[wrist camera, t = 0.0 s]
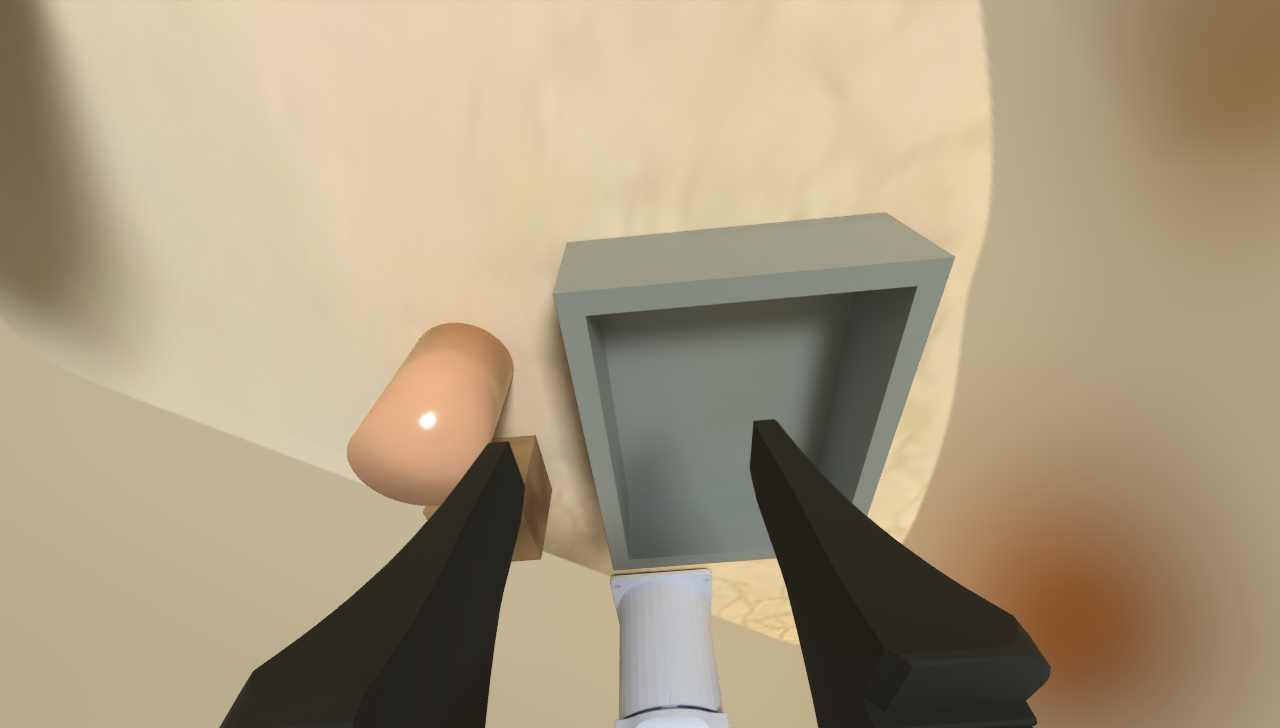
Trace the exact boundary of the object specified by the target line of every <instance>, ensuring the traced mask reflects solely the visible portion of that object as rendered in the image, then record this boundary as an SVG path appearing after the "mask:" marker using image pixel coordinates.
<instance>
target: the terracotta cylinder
mask: <svg viewBox="0 0 1280 728" xmlns="http://www.w3.org/2000/svg"><path fill="white" fill-rule="evenodd" d="M513 372H514V366H513V361H512V358H511V356H510V354H509V352H508V350H507V349H506V347H505V346H504V345H503V344H502V343H501V342H500V341H499V340H498V339H497V338H496V337H495V336H493V335H492V334H490V333H489V332H487V331H485V330H483V329H481V328H478V327H475V326H472V325H468V324H462V323H448V324H442V325H438V326H436V327H433V328H431V329H430V330H428V331H427V332H426V333H424V334H423V335H422V337H421V338H420V339H419V341H418V342H417V344H416V345H415V346H414V348H413V349H412V351H411V352H410V354H409V355H408V357H407V358H406V359H405V361H404V362H403V364H402V365H401V367H400V368H399V370H398V371H397V373H396V374H395V375H394V377H393V378H392V380H391V381H390V383H389V384H388V386H387V387H386V388H385V390H384V391H383V393H382V394H381V396H380V397H379V399H378V400H377V401H376V403H375V404H374V406H373V407H372V409H371V410H370V412H369V413H368V415H367V416H366V417H365V419H364V420H363V422H362V423H361V425H360V426H359V428H358V429H357V430H356V432H355V433H354V435H353V436H352V438H351V439H350V441H349V443H348V447H347V457H348V461H349V464H350V466H351V468H352V470H353V471H354V473H355V474H356V475H357V476H358V477H359V478H360V479H361V480H362V482H364V483H365V484H366V485H367V486H369V487H370V488H372V489H373V490H375V491H376V492H378V493H380V494H382V495H384V496H386V497H389V498H391V499H394V500H397V501H400V502H404V503H408V504H413V505H422V506H437V505H441V504H442V503H443V502H444V501H445V499H446V498H447V497H448V495H449V494H450V493H451V492H452V490H453V489H454V488H455V487H456V485H457V484H458V483H459V481H460V480H461V479H462V477H463V476H464V475H465V473H466V472H467V471H468V469H469V468H470V467H471V465H472V464H473V463H474V461H475V460H476V459H477V457H478V456H479V455H480V453H481V452H482V451H483V449H484V448H485V447H486V445H487V444H488V443H491V441H492V438H493V435H494V432H495V429H496V426H497V423H498V420H499V417H500V414H501V411H502V408H503V405H504V402H505V399H506V396H507V393H508V390H509V387H510V384H511V381H512V378H513Z"/></svg>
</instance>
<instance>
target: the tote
mask: <svg viewBox="0 0 1280 728" xmlns="http://www.w3.org/2000/svg"><path fill="white" fill-rule="evenodd" d="M954 258H955V257H954V256H953V255H951V254H950V253H948V252H947V251H945V250H943V249H942V248H940V247H939V246H937V245H936V244H934V243H933V242H931V241H929V240H928V239H926V238H925V237H923V236H922V235H920V234H919V233H917V232H915V231H914V230H912V229H911V228H909V227H908V226H906V225H905V224H903V223H901V222H900V221H898V220H897V219H895V218H894V217H892V216H891V215H889V214H887V213H877V214H866V215H855V216H845V217H834V218H824V219H813V220H802V221H792V222H781V223H771V224H760V225H749V226H739V227H728V228H717V229H707V230H696V231H686V232H675V233H664V234H654V235H643V236H633V237H622V238H611V239H601V240H590V241H580V242H569V243H567V246H566V249H565V253H564V256H563V260H562V263H561V267H560V271H559V274H558V278H557V281H556V285H555V288H554V292H553V296H554V301H555V305H556V310H557V314H558V319H559V323H560V328H561V333H562V337H563V342H564V346H565V351H566V355H567V360H568V364H569V369H570V374H571V378H572V383H573V387H574V392H575V396H576V401H577V405H578V410H579V415H580V419H581V424H582V428H583V433H584V437H585V442H586V446H587V451H588V456H589V460H590V465H591V469H592V474H593V478H594V483H595V487H596V492H597V497H598V501H599V506H600V510H601V515H602V519H603V524H604V528H605V533H606V538H607V542H608V547H609V551H610V556H611V560H612V565H613V569H614V570H627V569H640V568H653V567H667V566H680V565H693V564H706V563H719V562H733V561H746V560H759V559H772V558H776V555H775V552H774V549H773V546H772V543H771V541H770V538H769V535H768V532H767V529H766V526H765V524H764V521H763V518H762V515H761V512H760V509H759V506H758V503H757V500H756V496H755V491H754V487H753V482H752V478H751V473H750V469H749V468H750V456H751V444H752V432H753V421H757V420H769V419H775V420H776V421H777V422H778V423H779V424H780V425H781V426H782V428H783V429H784V430H785V431H786V433H787V434H788V435H789V436H790V438H791V439H792V440H793V441H794V442H795V444H796V445H797V446H798V447H799V448H800V449H801V451H802V452H803V453H804V454H805V455H806V456H807V457H808V459H809V460H810V461H811V462H812V463H813V464H814V465H815V466H816V467H817V468H818V469H819V471H820V472H821V473H822V474H823V475H824V476H825V477H826V478H827V479H828V480H829V481H830V482H831V483H832V484H833V485H834V486H835V487H836V488H837V489H838V490H839V491H840V492H841V493H842V494H843V495H844V496H845V497H846V498H847V499H848V500H849V501H850V502H852V503H853V504H854V505H855V506H856V507H857V508H858V509H859V510H860V511H862V512H863V513H864V514H865V515H866V516H867V514H868V512H869V509H870V506H871V503H872V500H873V497H874V494H875V491H876V488H877V485H878V482H879V479H880V476H881V473H882V470H883V467H884V464H885V461H886V459H887V456H888V453H889V450H890V447H891V444H892V441H893V438H894V435H895V432H896V429H897V426H898V423H899V420H900V417H901V414H902V411H903V409H904V406H905V403H906V400H907V397H908V394H909V391H910V388H911V385H912V382H913V379H914V376H915V373H916V370H917V367H918V364H919V361H920V359H921V356H922V353H923V350H924V347H925V344H926V341H927V338H928V335H929V332H930V329H931V326H932V323H933V320H934V317H935V314H936V311H937V309H938V306H939V303H940V300H941V297H942V294H943V291H944V288H945V285H946V282H947V279H948V276H949V273H950V270H951V267H952V264H953V261H954Z"/></svg>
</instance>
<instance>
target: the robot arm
mask: <svg viewBox="0 0 1280 728" xmlns="http://www.w3.org/2000/svg"><path fill="white" fill-rule="evenodd" d="M749 469H750V473H751V478H752V482H753V487H754V491H755V496H756V500H757V503H758V506H759V509H760V512H761V515H762V518H763V521H764V524H765V526H766V529H767V532H768V535H769V538H770V541H771V543H772V546H773V549H774V552H775V555H776V558H777V561H778V563H779V566H780V569H781V572H782V575H783V578H784V582H785V585H786V588H787V592H788V596H789V600H790V604H791V608H792V612H793V616H794V620H795V624H796V628H797V633H798V637H799V641H800V645H801V650H802V654H803V658H804V662H805V667H806V671H807V676H808V680H809V685H810V689H811V694H812V699H813V703H814V708H815V713H816V718H817V723H818V727H819V728H1033V727H1032V726H1035V725H1036V724H1037V720H1036V717H1035V716H1034V714H1033V712H1032V711H1031V709H1030V707H1029V706H1028V704H1027V702H1026V700H1027V699H1028V698H1029V697H1030V696H1032V695H1033V694H1034V693H1035V692H1036V691H1037V690H1038V689H1039V688H1040V687H1042V686H1043V684H1044V683H1045V682H1046V681H1047V680H1048V678H1049V676H1050V669H1051V667H1050V665H1049V664H1048V662H1047V661H1046V659H1045V658H1044V656H1043V655H1042V653H1041V652H1040V651H1039V649H1038V648H1037V646H1036V644H1035V643H1034V642H1033V640H1032V639H1031V637H1030V636H1029V635H1028V633H1027V632H1026V631H1025V630H1024V628H1022V626H1021V625H1020V624H1019V622H1018V621H1017V620H1016V618H1015V617H1014V616H1013V615H1010V614H1009V613H1008V612H1006V611H1004V610H1002V609H1001V608H999V607H997V606H996V605H994V604H992V603H990V602H989V601H987V600H985V599H984V598H982V597H980V596H979V595H977V594H975V593H973V592H972V591H970V590H968V589H966V588H965V587H963V586H962V585H960V584H959V583H957V582H956V581H954V580H952V579H951V578H949V577H948V576H946V575H945V574H943V573H942V572H940V571H939V570H937V569H936V568H934V567H932V566H931V565H930V564H928V563H927V562H926V561H924V560H923V559H922V558H920V557H919V556H917V555H916V554H914V553H913V552H912V551H910V550H909V549H907V548H906V547H905V546H903V545H902V544H901V543H899V542H898V541H897V540H895V539H894V538H893V537H892V536H890V535H889V534H888V533H887V532H885V531H884V530H883V529H882V528H880V527H879V526H878V525H877V524H876V523H874V522H873V521H872V520H871V519H870V518H868V517H867V516H866V515H865V514H864V513H863V512H862V511H860V510H859V509H858V508H857V507H856V506H855V505H854V504H853V503H852V502H850V501H849V500H848V499H847V498H846V497H845V496H844V495H843V494H842V493H841V492H840V491H839V490H838V489H837V488H836V487H835V486H834V485H833V484H832V483H831V482H830V481H829V480H828V479H827V478H826V477H825V476H824V475H823V474H822V473H821V472H820V471H819V469H818V468H817V467H816V466H815V465H814V464H813V463H812V462H811V461H810V460H809V459H808V457H807V456H806V455H805V454H804V453H803V452H802V451H801V449H800V448H799V447H798V446H797V445H796V444H795V442H794V441H793V440H792V439H791V438H790V436H789V435H788V434H787V433H786V431H785V430H784V429H783V428H782V426H781V425H780V424H779V423H778V422H777V421H776V420H775V419H769V420H757V421H753V432H752V444H751V456H750V468H749ZM524 493H525V485H524V482H523V479H522V476H521V473H520V471H519V468H518V465H517V462H516V459H515V457H514V454H513V451H512V448H511V446H510V443H509V441H505V442H493V443H488V444H487V445H486V447H485V448H484V449H483V451H482V452H481V453H480V455H479V456H478V457H477V459H476V460H475V461H474V463H473V464H472V465H471V467H470V468H469V469H468V471H467V472H466V473H465V475H464V476H463V477H462V479H461V480H460V481H459V483H458V484H457V485H456V487H455V488H454V489H453V490H452V492H451V493H450V494H449V495H448V497H447V498H446V499H445V501H444V502H443V503H442V504H441V506H440V507H439V508H438V509H437V510H436V511H435V513H434V514H433V515H432V516H431V517H430V518H429V520H428V521H427V522H426V523H425V524H424V525H423V527H422V528H421V529H420V530H419V531H418V532H417V534H416V535H415V536H414V537H413V538H412V539H411V540H410V541H409V542H408V543H407V544H406V545H405V546H404V547H403V549H402V550H401V551H400V552H399V553H398V554H397V555H396V556H395V557H394V558H393V559H392V560H391V561H390V562H389V563H388V564H387V565H386V566H385V567H383V568H382V569H381V570H380V571H379V572H378V573H377V574H376V575H375V576H374V577H373V578H371V579H370V580H369V581H368V582H367V583H366V584H365V585H364V586H363V587H361V588H360V589H359V590H358V591H357V592H356V593H355V594H354V595H353V596H351V597H350V598H349V599H348V600H347V601H346V602H344V603H343V604H342V605H341V606H339V607H338V608H337V609H336V610H335V611H333V612H332V613H331V614H330V615H328V616H327V617H326V618H325V619H323V620H322V621H321V622H320V623H318V624H317V625H316V626H315V627H313V628H312V629H311V630H309V631H308V632H307V633H305V634H304V635H303V636H301V637H300V638H299V639H297V640H296V641H295V642H293V643H292V644H290V645H289V646H288V647H286V648H285V649H284V650H282V651H281V652H279V653H278V654H277V655H275V656H274V657H272V658H271V659H270V660H268V661H267V662H266V663H264V664H263V665H261V666H260V667H258V668H257V669H255V670H254V671H253V672H252V674H251V675H250V677H249V679H248V680H247V682H246V684H245V685H244V687H243V689H242V690H241V692H240V694H239V695H238V697H237V699H236V700H235V702H234V704H233V705H232V707H231V709H230V711H229V712H228V714H227V716H226V717H225V719H224V721H223V723H222V724H221V726H220V727H219V728H485V723H486V712H487V703H488V695H489V685H490V676H491V668H492V661H493V653H494V646H495V639H496V632H497V625H498V619H499V612H500V606H501V602H502V596H503V592H504V588H505V584H506V580H507V576H508V572H509V568H510V564H511V560H512V556H513V552H514V548H515V544H516V540H517V536H518V532H519V528H520V523H521V518H522V511H523V503H524ZM610 584H611V589H612V593H613V598H614V602H615V606H616V610H617V615H618V619H619V623H620V688H619V691H620V692H619V693H620V695H619V701H620V702H619V720H615V728H729V723H728V718H727V713H723V707H722V700H721V694H720V687H719V680H718V673H717V667H716V661H715V653H714V647H713V640H712V633H711V571H710V570H708V569H697V570H684V571H670V572H657V573H644V574H631V575H617V576H613V577H611V578H610Z"/></svg>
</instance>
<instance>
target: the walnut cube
mask: <svg viewBox="0 0 1280 728" xmlns="http://www.w3.org/2000/svg"><path fill="white" fill-rule="evenodd" d="M505 441H509V443H510V446H511V448H512V451H513V454H514V457H515V459H516V462H517V465H518V468H519V471H520V473H521V476H522V479H523V482H524V485H525V493H524V503H523V511H522V518H521V523H520V528H519V532H518V536H517V540H516V544H515V548H514V552H513V556H512V560H511V562H512V561H525V560H538V559H541V556H542V550H543V544H544V538H545V531H546V525H547V519H548V512H549V506H550V500H551V493H552V488H551V484H550V481H549V478H548V475H547V471H546V468H545V465H544V462H543V458H542V455H541V452H540V449H539V445H538V442H537V439H536V436H535V435H533V436H521V437H509V438H497V439H492V441H491V443H493V442H505ZM440 506H441V505H437V506H425V508H424V511H423V513H424V515H425V517H426V518H427V520H429V518H430V517H431V516H432V515H433V514H434V513H435V511H436V510H437V509H438V508H439V507H440Z"/></svg>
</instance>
